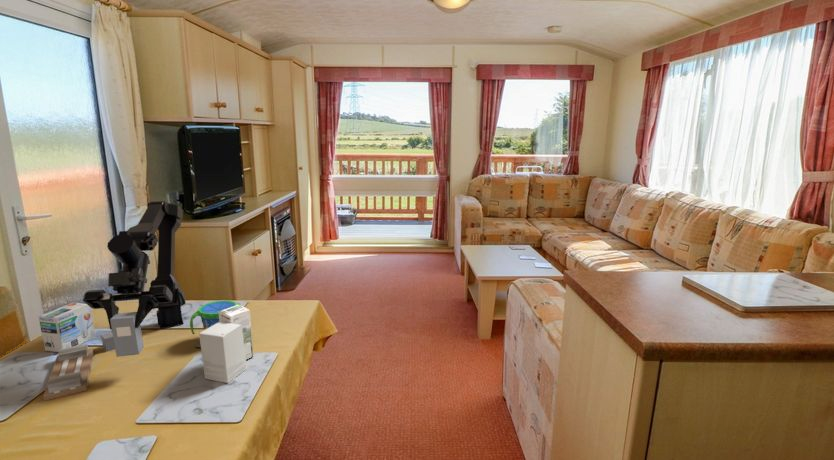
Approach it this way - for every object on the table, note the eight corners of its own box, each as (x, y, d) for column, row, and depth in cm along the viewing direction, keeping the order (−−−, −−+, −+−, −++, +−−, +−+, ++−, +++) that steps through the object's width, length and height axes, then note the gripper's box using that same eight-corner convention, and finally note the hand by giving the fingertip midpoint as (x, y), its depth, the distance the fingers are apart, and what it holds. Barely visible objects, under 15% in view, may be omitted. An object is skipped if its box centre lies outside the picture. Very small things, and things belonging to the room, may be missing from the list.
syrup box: (241, 351, 125) (236, 303, 122) (254, 357, 122) (249, 308, 119) (222, 360, 121) (217, 310, 117) (235, 366, 117) (230, 315, 114)
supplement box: (247, 369, 116) (243, 324, 113) (227, 384, 109) (222, 337, 107) (225, 364, 119) (220, 320, 116) (203, 379, 112) (197, 332, 109)
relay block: (123, 341, 132) (121, 329, 131) (127, 345, 129) (125, 333, 128) (103, 347, 128) (100, 334, 127) (106, 352, 126) (104, 339, 125)
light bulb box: (63, 353, 125) (56, 318, 122) (43, 351, 126) (36, 316, 124) (97, 336, 135) (91, 303, 133) (78, 334, 136) (72, 301, 134)
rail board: (57, 359, 121) (55, 349, 120) (93, 352, 125) (91, 341, 125) (44, 400, 103) (41, 388, 102) (86, 390, 107) (84, 378, 106)
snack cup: (246, 326, 141) (244, 296, 139) (250, 340, 132) (247, 308, 130) (192, 336, 135) (188, 305, 132) (192, 351, 125) (187, 318, 123)
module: (122, 349, 114) (116, 313, 111) (143, 347, 115) (138, 311, 112) (116, 356, 110) (109, 319, 108) (138, 354, 111) (132, 317, 109)
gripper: (79, 260, 109) (64, 320, 101) (163, 255, 113) (154, 312, 105) (99, 280, 118) (86, 336, 110) (176, 274, 122) (169, 328, 114)
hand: (123, 328), depth 109 cm, fingers closed on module, 5 cm apart
